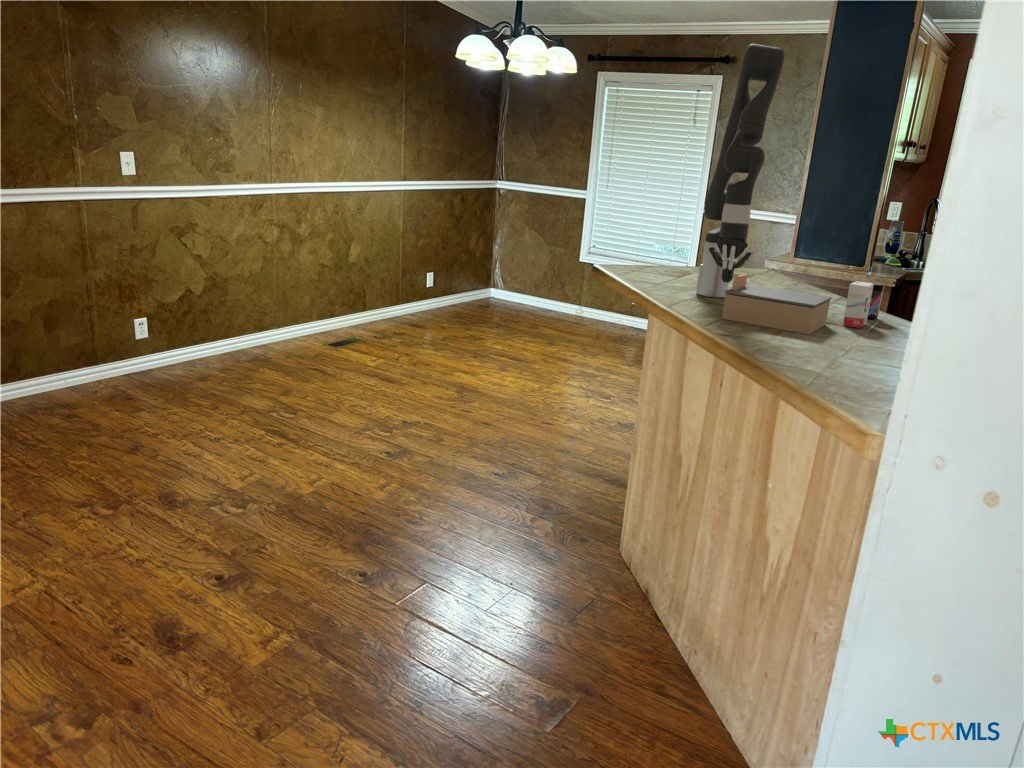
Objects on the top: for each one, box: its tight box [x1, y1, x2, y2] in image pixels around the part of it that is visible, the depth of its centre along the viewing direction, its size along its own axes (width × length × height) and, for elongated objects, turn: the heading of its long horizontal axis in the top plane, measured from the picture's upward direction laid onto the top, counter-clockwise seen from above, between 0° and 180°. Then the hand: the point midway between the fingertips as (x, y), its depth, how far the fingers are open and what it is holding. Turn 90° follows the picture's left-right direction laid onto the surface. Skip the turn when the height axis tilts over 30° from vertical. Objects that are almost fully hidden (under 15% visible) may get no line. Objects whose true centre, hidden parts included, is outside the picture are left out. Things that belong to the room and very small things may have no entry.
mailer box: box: [721, 293, 831, 335], centre depth 205 cm, size 24×16×7 cm, turn 54°
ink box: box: [842, 281, 874, 329], centre depth 205 cm, size 9×5×12 cm, turn 144°
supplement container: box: [859, 280, 885, 321], centre depth 216 cm, size 7×7×10 cm
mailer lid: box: [725, 273, 832, 307], centre depth 203 cm, size 24×16×4 cm
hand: (726, 282), depth 211 cm, fingers closed
